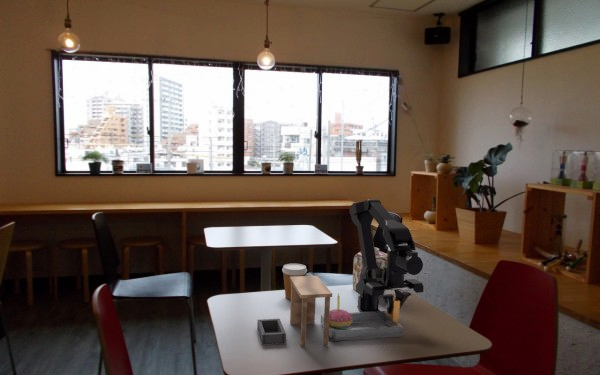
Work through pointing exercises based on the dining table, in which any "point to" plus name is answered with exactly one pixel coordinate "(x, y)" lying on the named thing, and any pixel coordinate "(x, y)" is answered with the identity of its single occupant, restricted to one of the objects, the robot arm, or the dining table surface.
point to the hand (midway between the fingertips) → (392, 313)
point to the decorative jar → (358, 265)
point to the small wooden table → (308, 303)
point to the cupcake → (339, 317)
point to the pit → (271, 331)
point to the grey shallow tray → (370, 332)
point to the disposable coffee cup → (292, 271)
